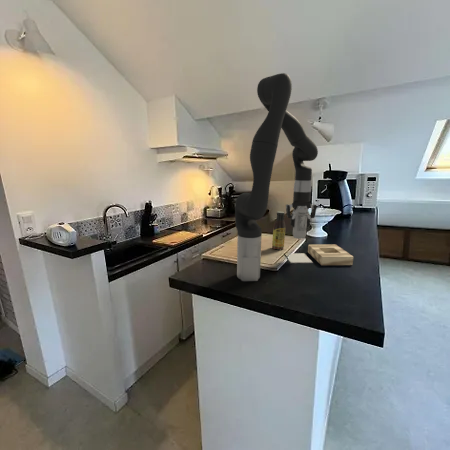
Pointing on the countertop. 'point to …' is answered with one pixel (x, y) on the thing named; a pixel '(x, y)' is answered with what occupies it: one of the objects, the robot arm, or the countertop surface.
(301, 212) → the energy drink can
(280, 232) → the sauce bottle
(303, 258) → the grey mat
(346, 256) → the socket block
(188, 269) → the countertop surface
